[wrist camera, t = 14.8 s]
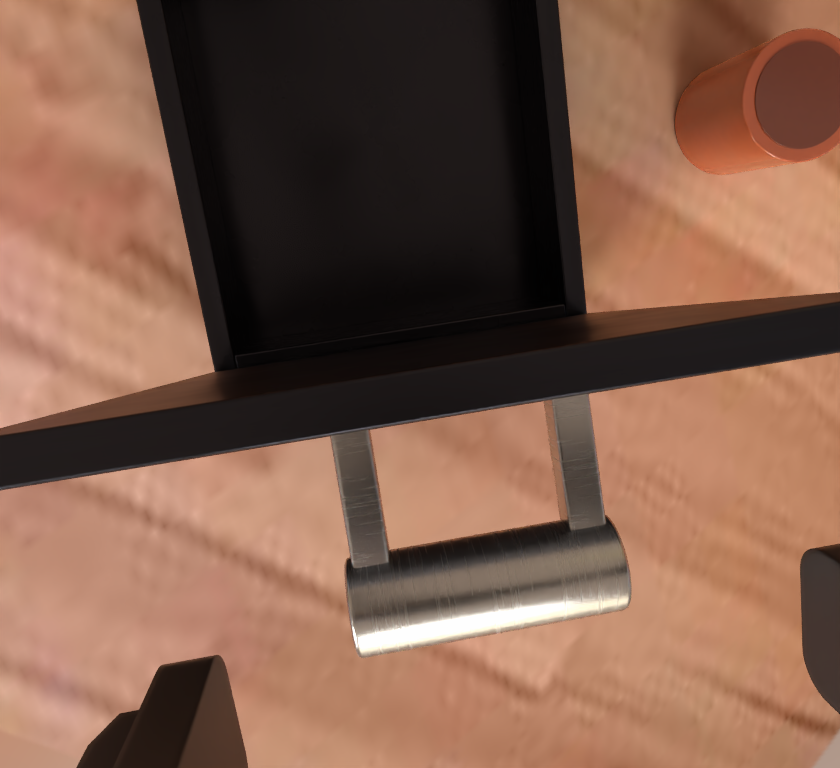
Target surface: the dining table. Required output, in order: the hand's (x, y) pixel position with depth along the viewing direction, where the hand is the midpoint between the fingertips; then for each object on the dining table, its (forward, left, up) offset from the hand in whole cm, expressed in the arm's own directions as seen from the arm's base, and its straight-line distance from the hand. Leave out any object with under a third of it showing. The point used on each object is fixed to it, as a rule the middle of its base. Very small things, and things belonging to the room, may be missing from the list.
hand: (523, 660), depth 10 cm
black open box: (-10, 0, -26) cm, 27 cm away
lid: (-3, 0, -11) cm, 11 cm away
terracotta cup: (-9, +17, -26) cm, 32 cm away
